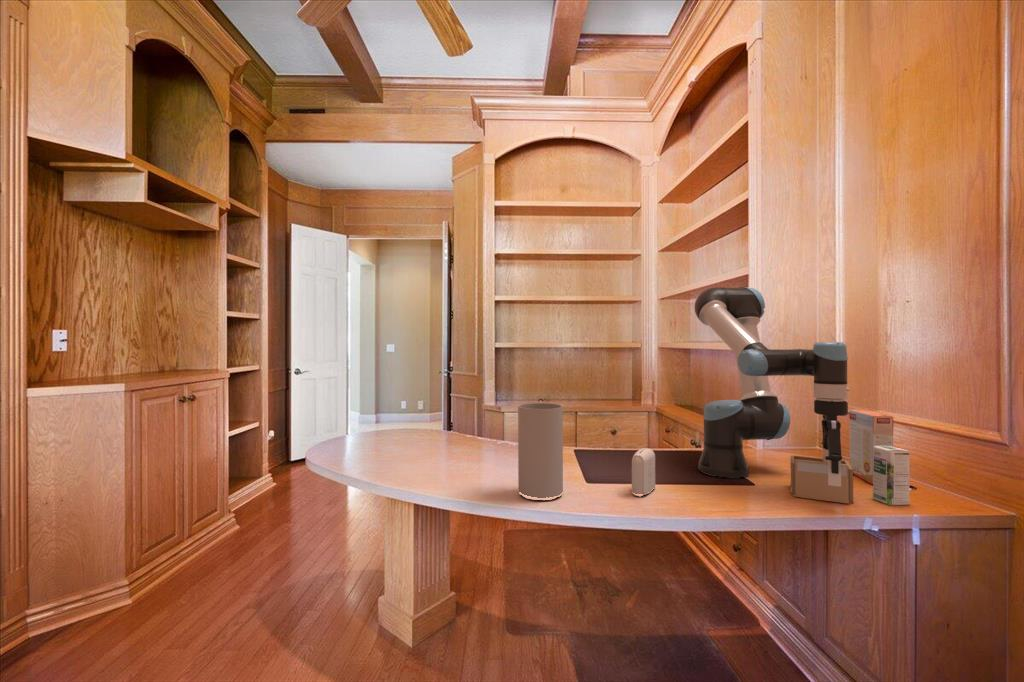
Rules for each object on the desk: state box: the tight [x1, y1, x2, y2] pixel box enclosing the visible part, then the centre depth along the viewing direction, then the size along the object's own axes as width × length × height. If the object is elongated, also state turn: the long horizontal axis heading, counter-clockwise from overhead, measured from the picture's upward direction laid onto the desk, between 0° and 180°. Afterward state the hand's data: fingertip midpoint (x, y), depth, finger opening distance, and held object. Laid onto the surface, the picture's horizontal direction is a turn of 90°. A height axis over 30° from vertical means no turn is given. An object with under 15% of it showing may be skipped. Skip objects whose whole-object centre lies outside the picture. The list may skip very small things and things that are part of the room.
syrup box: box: [872, 446, 911, 506], centre depth 127 cm, size 6×6×14 cm
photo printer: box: [631, 447, 656, 495], centre depth 136 cm, size 10×4×12 cm, turn 144°
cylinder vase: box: [517, 402, 564, 498], centre depth 134 cm, size 12×12×25 cm
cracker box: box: [849, 409, 894, 485], centre depth 147 cm, size 14×6×21 cm, turn 168°
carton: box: [790, 454, 854, 504], centre depth 134 cm, size 14×11×9 cm
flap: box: [794, 459, 850, 505], centre depth 128 cm, size 12×2×10 cm, turn 61°
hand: (831, 479), depth 127 cm, fingers open, 13 cm apart
